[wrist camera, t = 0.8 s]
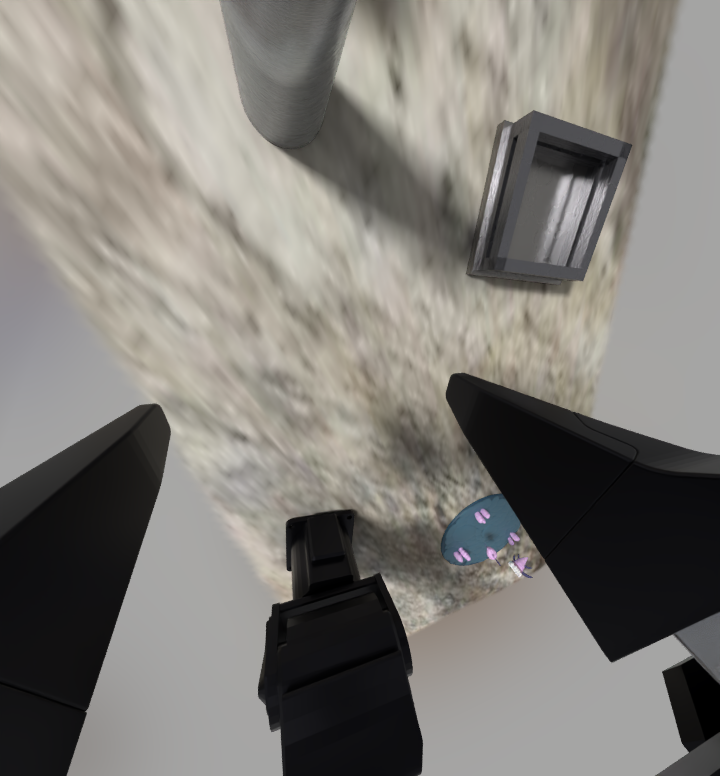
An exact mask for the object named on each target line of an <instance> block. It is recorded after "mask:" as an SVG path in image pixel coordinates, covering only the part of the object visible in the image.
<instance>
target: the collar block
mask: <svg viewBox="0 0 720 776" xmlns="http://www.w3.org/2000/svg"><path fill="white" fill-rule="evenodd" d="M631 147H632V145H631V144H629V143H626V142H623V141H620V140H617V139H614V138H611V137H609V136H606V135H603V134H600V133H597V132H594V131H591V130H589V129H586V128H583V127H580V126H577V125H574V124H571V123H569V122H566V121H563V120H560V119H557V118H554V117H551V116H549V115H546V114H543V113H540V112H537V111H534V110H533V111H532V112H530V113H529V114H527V115H526V116H524V117H523V118H521V119H520V120H518V121H517V122H515V123H512V122H509V121H506V120H504V121H503V122H502V123H500V124H499V125H498V127H497V132H496V137H495V141H494V146H493V151H492V155H491V160H490V165H489V170H488V174H487V179H486V184H485V188H484V193H483V198H482V202H481V207H480V212H479V217H478V221H477V226H476V231H475V235H474V240H473V245H472V249H471V254H470V259H469V264H468V268H467V273H466V274H469V275H478V276H486V277H495V278H503V279H512V280H520V281H529V282H537V283H546V284H555V285H561V282H562V281H583V280H584V277H585V274H586V272H587V269H588V266H589V263H590V261H591V258H592V255H593V252H594V249H595V247H596V244H597V241H598V238H599V236H600V233H601V230H602V227H603V225H604V222H605V219H606V216H607V213H608V211H609V208H610V205H611V202H612V200H613V197H614V194H615V191H616V189H617V186H618V183H619V180H620V177H621V175H622V172H623V169H624V166H625V164H626V161H627V158H628V155H629V153H630V150H631Z"/></svg>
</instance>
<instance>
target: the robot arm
mask: <svg viewBox="0 0 720 776" xmlns="http://www.w3.org/2000/svg"><path fill="white" fill-rule="evenodd" d="M446 399H447V402H448V404H449V406H450V408H451V410H452V412H453V414H454V416H455V418H456V420H457V422H458V424H459V426H460V427H461V429H462V431H463V433H464V435H465V436H466V438H467V440H468V441H469V443H470V444H471V446H472V448H473V449H474V451H475V452H476V454H477V455H478V457H479V459H480V460H481V462H482V463H483V465H484V466H485V468H486V469H487V471H488V473H489V474H490V476H491V477H492V479H493V480H494V482H495V484H496V485H497V487H498V488H499V490H500V491H501V493H502V494H503V496H504V498H505V499H506V501H507V502H508V504H509V505H510V507H511V508H512V510H513V512H514V513H515V515H516V516H517V518H518V519H519V521H520V523H521V524H522V526H523V527H524V529H525V530H526V532H527V533H528V535H529V537H530V538H531V540H532V541H533V543H534V544H535V546H536V548H537V549H538V551H539V552H540V554H541V555H542V557H543V558H544V559H545V562H546V564H547V565H548V567H549V568H550V570H551V571H552V573H553V574H554V576H555V577H556V579H557V581H558V582H559V584H560V585H561V587H562V589H563V590H564V592H565V593H566V595H567V596H568V598H569V599H570V601H571V603H572V604H573V606H574V607H575V609H576V610H577V612H578V614H579V615H580V617H581V618H582V620H583V621H584V623H585V625H586V626H587V628H588V629H589V631H590V632H591V634H592V635H593V637H594V639H595V640H596V642H597V643H598V645H599V646H600V648H601V650H602V651H603V652H604V654H605V655H606V657H607V658H608V659H609V661H610V662H615V661H617V660H619V659H621V658H623V657H625V656H627V655H629V654H632V653H634V652H636V651H638V650H640V649H642V648H644V647H647V646H649V645H651V644H653V643H655V642H657V641H659V640H661V639H663V638H666V637H668V636H670V635H673V636H674V637H675V638H676V639H677V640H678V641H679V642H680V643H681V644H682V645H683V646H684V647H685V649H686V650H687V651H688V652H689V653H690V654H691V655H692V656H690V657H688V658H686V659H685V660H683V661H681V662H679V663H677V664H675V665H673V666H672V667H670V668H668V669H666V670H664V671H663V672H662V673H663V676H664V680H665V684H666V687H667V691H668V695H669V698H670V702H671V706H672V709H673V713H674V716H675V720H676V724H677V727H678V731H679V735H680V738H681V742H682V744H683V745H684V747H685V748H686V749H687V750H688V752H689V753H688V754H687V755H685V756H684V757H682V758H681V759H679V760H678V761H677V762H675V763H673V764H672V765H670V766H669V767H667V768H666V769H665V770H663V771H662V772H660V773H659V774H657V775H656V776H720V455H714V454H707V453H702V452H698V451H693V450H690V449H686V448H683V447H680V446H677V445H673V444H670V443H667V442H664V441H661V440H658V439H654V438H651V437H648V436H645V435H642V434H639V433H635V432H632V431H629V430H626V429H623V428H620V427H616V426H613V425H610V424H608V423H604V422H602V421H599V420H596V419H593V418H590V417H587V416H584V415H582V414H579V413H576V412H572V411H570V410H567V409H565V408H562V407H559V406H556V405H553V404H550V403H548V402H545V401H542V400H539V399H536V398H534V397H531V396H528V395H525V394H522V393H520V392H517V391H514V390H511V389H508V388H505V387H503V386H500V385H497V384H494V383H491V382H489V381H486V380H483V379H480V378H477V377H474V376H472V375H469V374H466V373H455V374H452V375H451V377H450V380H449V383H448V387H447V390H446ZM170 435H171V430H170V426H169V423H168V421H167V419H166V417H165V414H164V412H163V410H162V408H161V406H160V405H158V404H145V405H139V406H137V407H136V408H134V409H132V410H131V411H129V412H127V413H126V414H124V415H122V416H121V417H119V418H117V419H115V420H114V421H112V422H110V423H109V424H107V425H105V426H104V427H102V428H100V429H99V430H97V431H95V432H94V433H92V434H90V435H89V436H87V437H85V438H84V439H82V440H80V441H78V442H77V443H75V444H74V445H72V446H70V447H68V448H67V449H65V450H63V451H62V452H60V453H58V454H57V455H55V456H53V457H52V458H50V459H48V460H47V461H45V462H43V463H42V464H40V465H38V466H37V467H35V468H33V469H31V470H30V471H28V472H26V473H25V474H23V475H21V476H20V477H18V478H16V479H15V480H13V481H11V482H10V483H8V484H6V485H5V486H3V487H1V488H0V776H67V773H68V770H69V766H70V763H71V760H72V757H73V754H74V751H75V748H76V745H77V742H78V739H79V736H80V733H81V729H82V727H83V724H84V721H85V717H86V714H87V713H86V712H85V711H86V710H87V709H88V707H89V704H90V701H91V698H92V695H93V692H94V689H95V686H96V683H97V680H98V677H99V673H100V670H101V667H102V664H103V661H104V658H105V655H106V652H107V649H108V646H109V643H110V640H111V637H112V634H113V631H114V628H115V625H116V621H117V618H118V615H119V612H120V609H121V606H122V603H123V600H124V597H125V594H126V591H127V588H128V584H129V582H130V579H131V575H132V572H133V569H134V566H135V563H136V560H137V557H138V554H139V551H140V548H141V545H142V541H143V538H144V535H145V533H146V529H147V526H148V523H149V520H150V517H151V514H152V511H153V508H154V505H155V502H156V499H157V496H158V493H159V489H160V486H161V482H162V477H163V473H164V467H165V461H166V457H167V451H168V446H169V440H170ZM353 526H354V513H353V511H351V510H349V511H342V512H335V513H329V514H322V515H316V516H309V517H303V518H296V519H290V520H288V521H287V522H286V560H287V570H288V571H292V591H293V600H291V601H288V602H285V603H281V604H280V603H277V604H273V605H272V616H271V617H269V621H267V623H266V643H265V653H264V658H263V664H262V669H261V674H260V679H259V685H258V697H259V699H260V700H261V701H262V702H263V703H264V704H265V705H266V710H267V715H268V716H269V725H270V730H271V732H274V731H276V730H278V729H281V745H282V764H283V776H418V775H420V774H421V772H422V755H423V740H422V735H421V731H420V728H419V724H418V720H417V715H416V711H415V707H414V702H413V699H412V694H411V689H410V685H409V681H408V676H411V675H412V673H413V666H412V659H411V653H410V648H409V644H408V640H407V636H406V633H405V630H404V626H403V624H402V621H401V618H400V616H399V613H398V611H397V609H396V607H395V605H394V603H393V600H392V598H391V596H390V594H389V592H388V590H387V587H386V585H385V583H384V581H383V579H382V576H381V574H380V573H377V574H374V575H373V576H372V577H368V578H365V579H362V580H361V579H360V575H359V572H358V568H357V564H356V560H355V557H354V553H353V549H352V546H351V545H352V535H353Z"/></svg>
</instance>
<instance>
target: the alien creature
mask: <svg viewBox="0 0 720 776" xmlns="http://www.w3.org/2000/svg"><path fill="white" fill-rule="evenodd" d="M519 527H520V521H519V519H518V518H517V516H516V515H515V513H514V512H513V510H512V508H511V507H510V505H509V504H508V502H507V501H506V499H505V498H504V496H503V494H494V495H490V496H487V497H484V498H481V499H479V500H477V501H475V502H474V503H472V504H470V505H469V506H467V507H466V508H465V509H463V510H462V511H461V512H460V513H459V514H458V515H457V516H456V517H455V518H454V519H453V520H452V522H451V523H450V524H449V526H448V527H447V529H446V531H445V533H444V535H443V538H442V542H441V552H442V555H443V556H444V558H445V559H446V560H447V561H448V562H449V563H450V564H455V565H460V566H464V565H472V564H475V563H478V562H482V561H484V560H486V559H487V558H490V559H492V560H494V559H496V558H497V552H498V551H499V550H501V549H502V548H503V547H504V546H505V545H506V544H507V543H510V545H514V542H513V540H515V541H519V540H520V538H519V537H518V535H516V534H515V533H516V532H517V531H518V529H519ZM512 538H513V540H512ZM518 558H519V554H518ZM513 560H514V561H510V562H509V563H508V564H509V565H510V567H512V569H514V570H513V571H515V574H516V575H517V576H518V577H521V576H522V574H523V575H524V576H526V577H528V578H532V577H531V576H529V575H527V574H525V573H524V572H523V569H524V568H525V567H526V568H528V569H531V567H527V566H525V564H526V561H527V560H528V557H523V558H519V559H517V560H515V555H514V557H513ZM496 561H497V560H496ZM497 563H498V564H499V562H498V561H497ZM499 565H500V564H499ZM500 566H501V565H500Z"/></svg>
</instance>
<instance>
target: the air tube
mask: <svg viewBox="0 0 720 776" xmlns="http://www.w3.org/2000/svg"><path fill="white" fill-rule="evenodd" d="M219 1H220V5H221V10H222V15H223V19H224V24H225V29H226V33H227V38H228V42H229V47H230V52H231V56H232V61H233V66H234V70H235V75H236V79H237V84H238V89H239V93H240V98H241V101H242V105H243V107H244V110H245V112H246V114H247V116H248V118H249V120H250V122H251V123H252V125H253V126H254V127H255V129H256V130H257V131H258V132H259V133H260V134H261V135H262V136H263V137H264V138H265V139H267V140H268V141H269V142H271V143H273V144H275V145H277V146H279V147H282V148H287V149H295V148H300V147H303V146H305V145H306V144H308V143H309V142H311V141H312V140H313V139H314V137H315V136H316V135H317V133H318V132H319V129H320V127H321V125H322V121H323V118H324V114H325V111H326V107H327V104H328V100H329V97H330V93H331V89H332V86H333V82H334V79H335V75H336V72H337V68H338V65H339V61H340V57H341V54H342V50H343V47H344V43H345V40H346V36H347V33H348V29H349V25H350V22H351V18H352V15H353V11H354V8H355V4H356V1H357V0H219Z"/></svg>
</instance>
